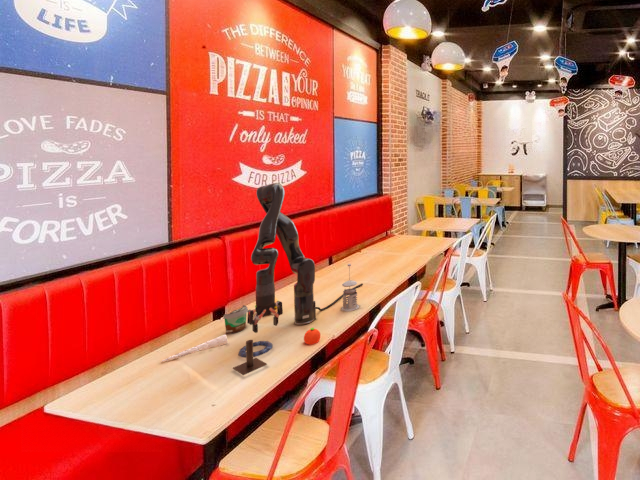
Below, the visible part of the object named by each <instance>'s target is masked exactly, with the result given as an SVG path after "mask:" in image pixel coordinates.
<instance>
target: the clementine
mask: <svg viewBox="0 0 640 480" xmlns="http://www.w3.org/2000/svg"><path fill="white" fill-rule="evenodd" d="M320 339H321V332H320V331H319V329H317V328H314V327H311V328H309V329H308V330H307V331H306V332H305V333H304V335H303V341H304V343H305V344H306V345H315V344H317V343H318V342H319V341H320Z"/></svg>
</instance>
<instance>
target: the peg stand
mask: <svg viewBox="0 0 640 480" xmlns="http://www.w3.org/2000/svg"><path fill="white" fill-rule="evenodd" d="M253 342H254V340H253V339H248V340H245V346H246V358H245V359H246V361H245V362H242V363H241V364H238V365H236V366H234V367H232V369H233V370H235V371H236V372H237V373H239V374H241V375H242V376H244V375H247V374H249V373H251V372H252V373H253V372H254V371H256V370H259V369H261V368H263V367H265V366H267V365H268V363H267V362H265V361H263V360H261V359H259V358H257V357H253V352H254V347H253Z"/></svg>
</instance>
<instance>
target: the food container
mask: <svg viewBox="0 0 640 480" xmlns="http://www.w3.org/2000/svg"><path fill="white" fill-rule="evenodd" d="M248 310H249V309H248V307H247V305H244V304H243V305H242V306H241V307H240V308H237V309H235V310H232V311H231V312H229V313H224V314H223V318H222V319H224V328H225V335H230V334H236V333H239V332H242V331H244V330H245V329H246V325H247V315H248Z"/></svg>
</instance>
